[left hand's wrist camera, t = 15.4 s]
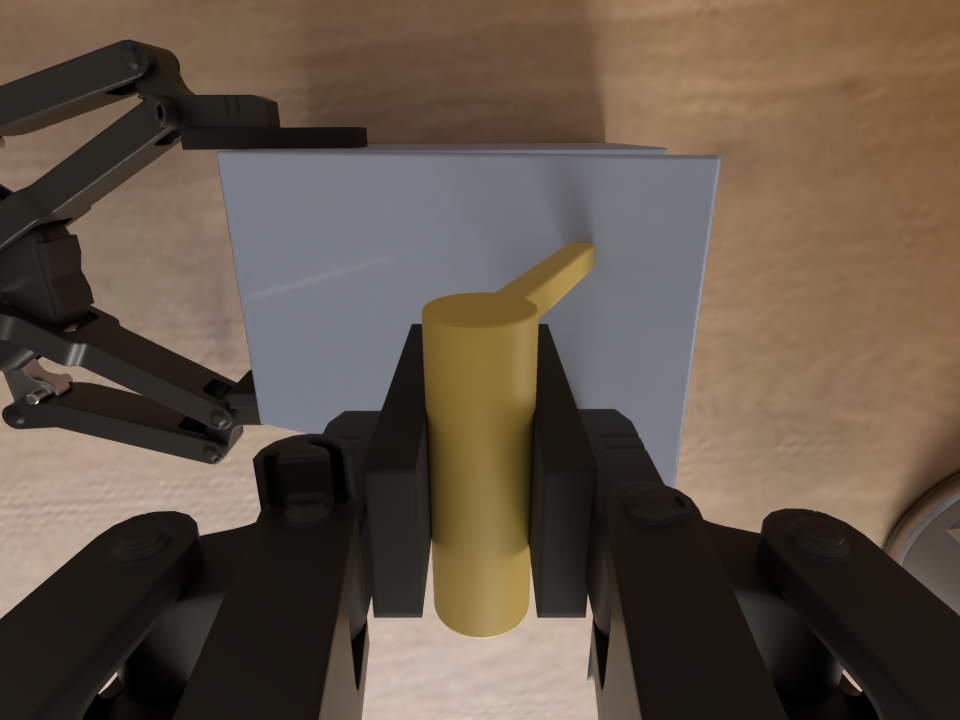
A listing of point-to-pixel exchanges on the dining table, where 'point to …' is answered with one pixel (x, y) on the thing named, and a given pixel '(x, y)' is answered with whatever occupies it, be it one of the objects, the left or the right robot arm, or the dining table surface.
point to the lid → (472, 316)
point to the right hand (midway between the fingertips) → (371, 272)
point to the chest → (496, 148)
